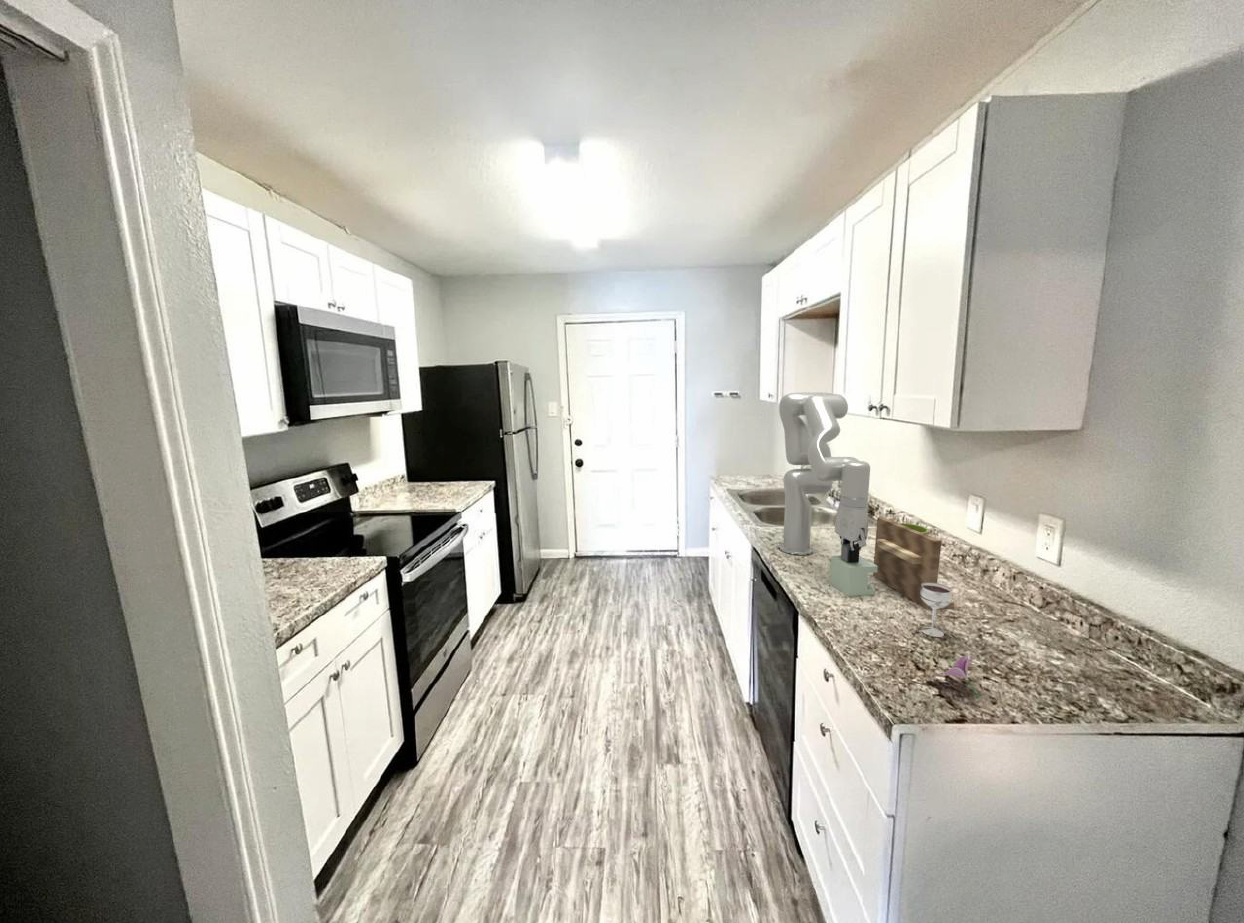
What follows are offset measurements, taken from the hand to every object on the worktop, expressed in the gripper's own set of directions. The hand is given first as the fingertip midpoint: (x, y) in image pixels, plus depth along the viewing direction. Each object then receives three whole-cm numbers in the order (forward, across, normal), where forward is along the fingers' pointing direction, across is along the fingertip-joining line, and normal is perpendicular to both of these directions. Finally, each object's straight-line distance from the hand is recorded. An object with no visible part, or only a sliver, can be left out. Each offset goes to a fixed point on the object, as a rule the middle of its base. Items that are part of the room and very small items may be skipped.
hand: (849, 559), depth 144 cm
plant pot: (+10, -22, +37) cm, 44 cm away
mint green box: (+10, 0, +1) cm, 10 cm away
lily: (+10, +48, -6) cm, 49 cm away
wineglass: (+10, +27, +6) cm, 29 cm away
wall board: (+10, +4, +17) cm, 20 cm away
